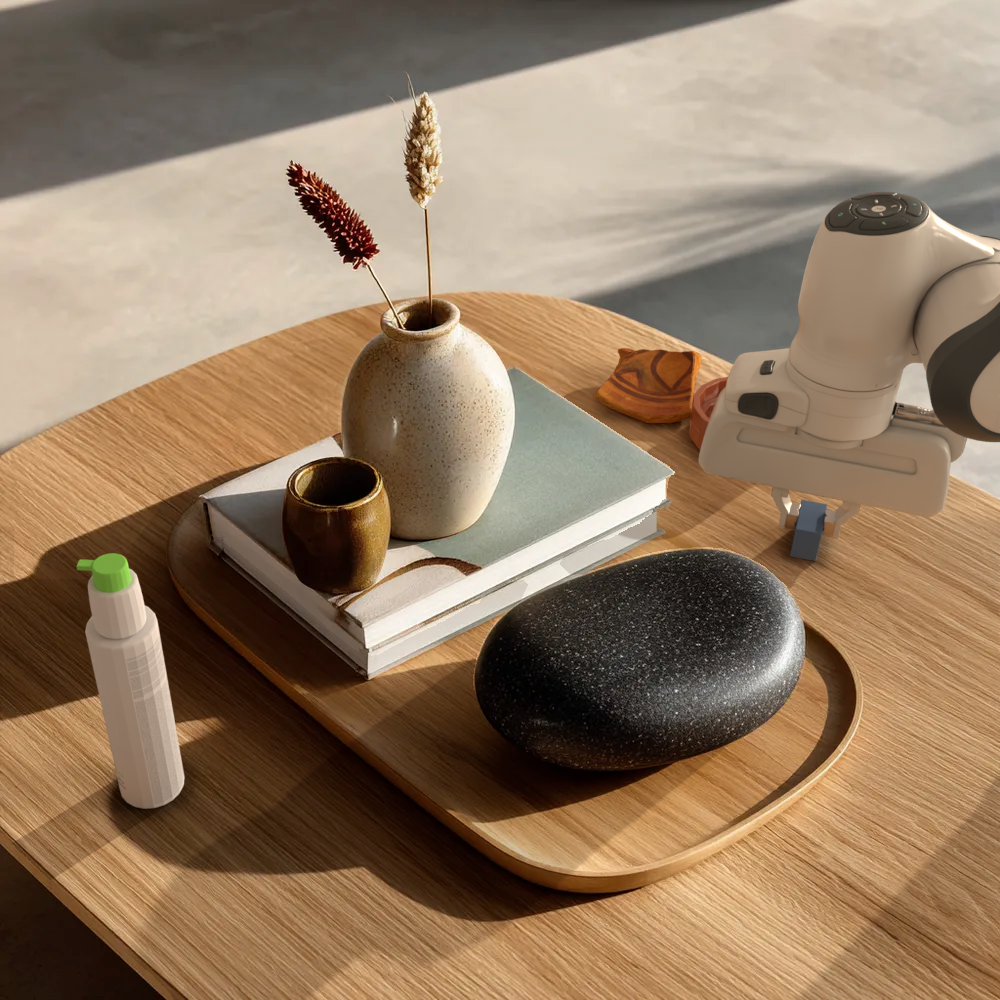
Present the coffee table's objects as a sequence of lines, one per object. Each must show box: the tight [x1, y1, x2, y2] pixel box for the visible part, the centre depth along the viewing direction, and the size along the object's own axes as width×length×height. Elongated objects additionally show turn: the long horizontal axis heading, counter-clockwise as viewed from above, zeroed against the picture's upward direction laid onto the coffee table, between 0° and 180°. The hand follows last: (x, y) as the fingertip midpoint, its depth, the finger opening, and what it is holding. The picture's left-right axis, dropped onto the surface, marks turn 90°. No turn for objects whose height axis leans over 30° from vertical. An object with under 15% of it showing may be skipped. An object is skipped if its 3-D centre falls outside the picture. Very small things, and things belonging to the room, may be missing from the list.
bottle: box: [76, 552, 185, 810], centre depth 86 cm, size 4×4×20 cm
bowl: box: [688, 376, 728, 450], centre depth 126 cm, size 10×10×4 cm
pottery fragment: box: [593, 347, 703, 424], centre depth 132 cm, size 10×5×10 cm
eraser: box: [789, 499, 828, 562], centre depth 114 cm, size 4×2×3 cm, turn 163°
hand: (808, 528), depth 114 cm, fingers closed on eraser, 2 cm apart
